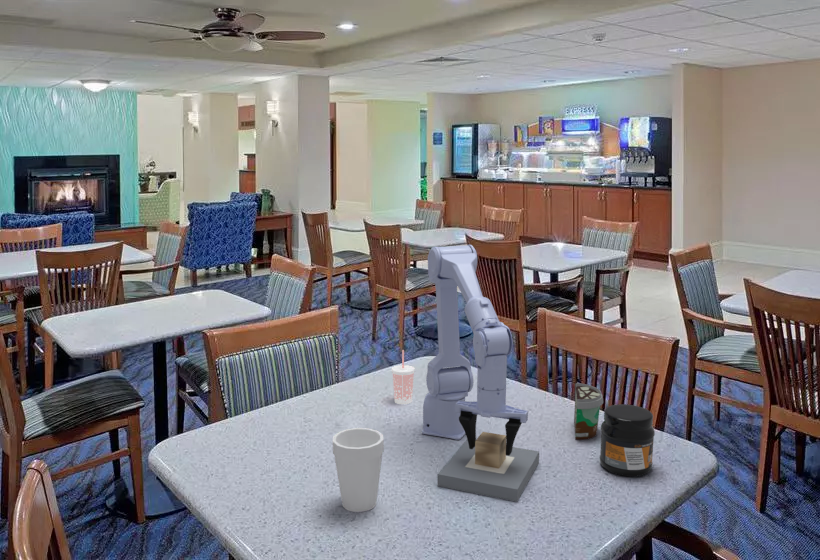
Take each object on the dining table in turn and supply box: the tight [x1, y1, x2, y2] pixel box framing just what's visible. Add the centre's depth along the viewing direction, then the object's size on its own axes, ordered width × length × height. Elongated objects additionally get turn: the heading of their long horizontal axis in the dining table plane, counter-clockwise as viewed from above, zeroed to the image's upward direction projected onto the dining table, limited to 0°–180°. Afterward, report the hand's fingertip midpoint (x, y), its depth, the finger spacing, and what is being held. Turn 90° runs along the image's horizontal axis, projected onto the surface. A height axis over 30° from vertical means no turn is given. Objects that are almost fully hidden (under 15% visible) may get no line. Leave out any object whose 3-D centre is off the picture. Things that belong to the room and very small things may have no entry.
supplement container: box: [599, 403, 655, 478], centre depth 142 cm, size 10×10×12 cm
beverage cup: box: [390, 349, 416, 406], centre depth 180 cm, size 6×6×14 cm
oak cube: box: [475, 431, 506, 468], centre depth 140 cm, size 5×5×5 cm
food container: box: [573, 382, 604, 441], centre depth 160 cm, size 12×6×10 cm, turn 168°
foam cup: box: [332, 427, 385, 513], centre depth 128 cm, size 10×9×13 cm
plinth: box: [436, 439, 540, 502], centre depth 140 cm, size 16×18×3 cm
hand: (490, 450), depth 140 cm, fingers open, 7 cm apart
